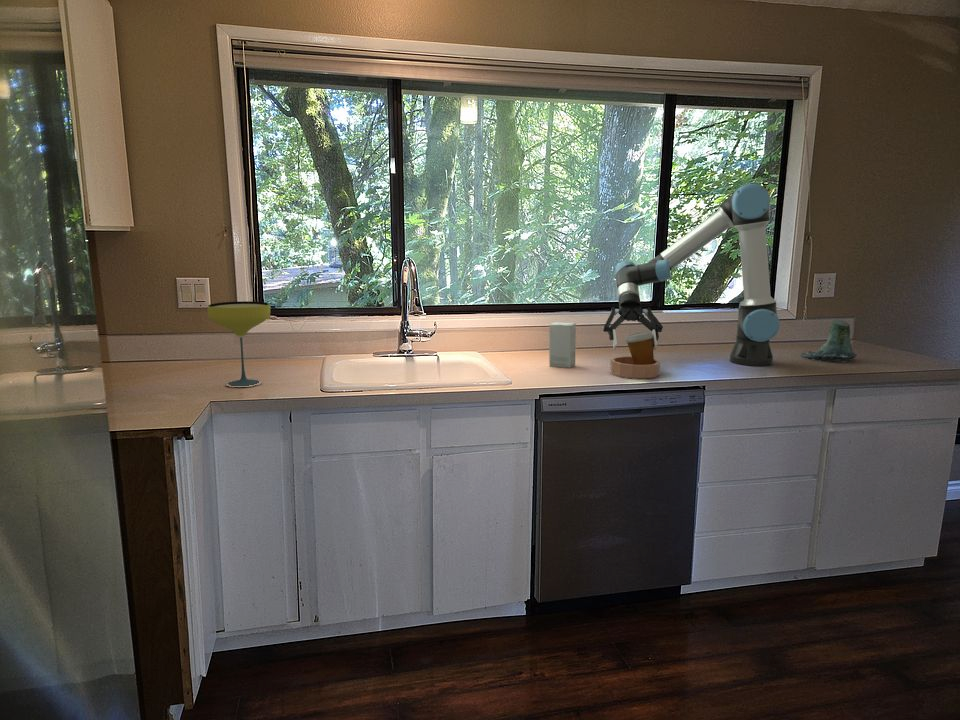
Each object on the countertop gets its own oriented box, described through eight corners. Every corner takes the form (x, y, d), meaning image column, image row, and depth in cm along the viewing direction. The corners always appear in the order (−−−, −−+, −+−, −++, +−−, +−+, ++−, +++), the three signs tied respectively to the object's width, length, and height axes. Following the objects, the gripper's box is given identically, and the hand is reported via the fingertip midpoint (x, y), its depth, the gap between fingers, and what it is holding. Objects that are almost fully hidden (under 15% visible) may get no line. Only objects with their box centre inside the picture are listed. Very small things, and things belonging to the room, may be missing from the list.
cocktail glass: (203, 391, 200) (197, 307, 195) (225, 377, 218) (220, 301, 213) (263, 391, 200) (259, 308, 195) (281, 378, 218) (277, 301, 213)
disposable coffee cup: (659, 367, 225) (653, 332, 224) (631, 372, 227) (624, 337, 226) (658, 363, 234) (652, 330, 233) (631, 368, 236) (624, 335, 235)
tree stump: (828, 354, 273) (843, 312, 266) (863, 375, 255) (880, 332, 248) (790, 353, 268) (804, 311, 261) (823, 375, 251) (839, 331, 244)
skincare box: (575, 365, 243) (577, 322, 240) (570, 368, 237) (571, 325, 234) (553, 363, 246) (555, 321, 243) (547, 366, 240) (549, 323, 237)
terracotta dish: (653, 369, 238) (653, 356, 237) (663, 379, 222) (664, 365, 221) (607, 368, 238) (607, 355, 237) (614, 378, 222) (615, 365, 221)
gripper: (661, 305, 243) (669, 353, 231) (592, 304, 243) (597, 353, 232) (666, 292, 236) (674, 341, 225) (595, 291, 237) (600, 340, 225)
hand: (635, 347), depth 228 cm, fingers open, 13 cm apart
